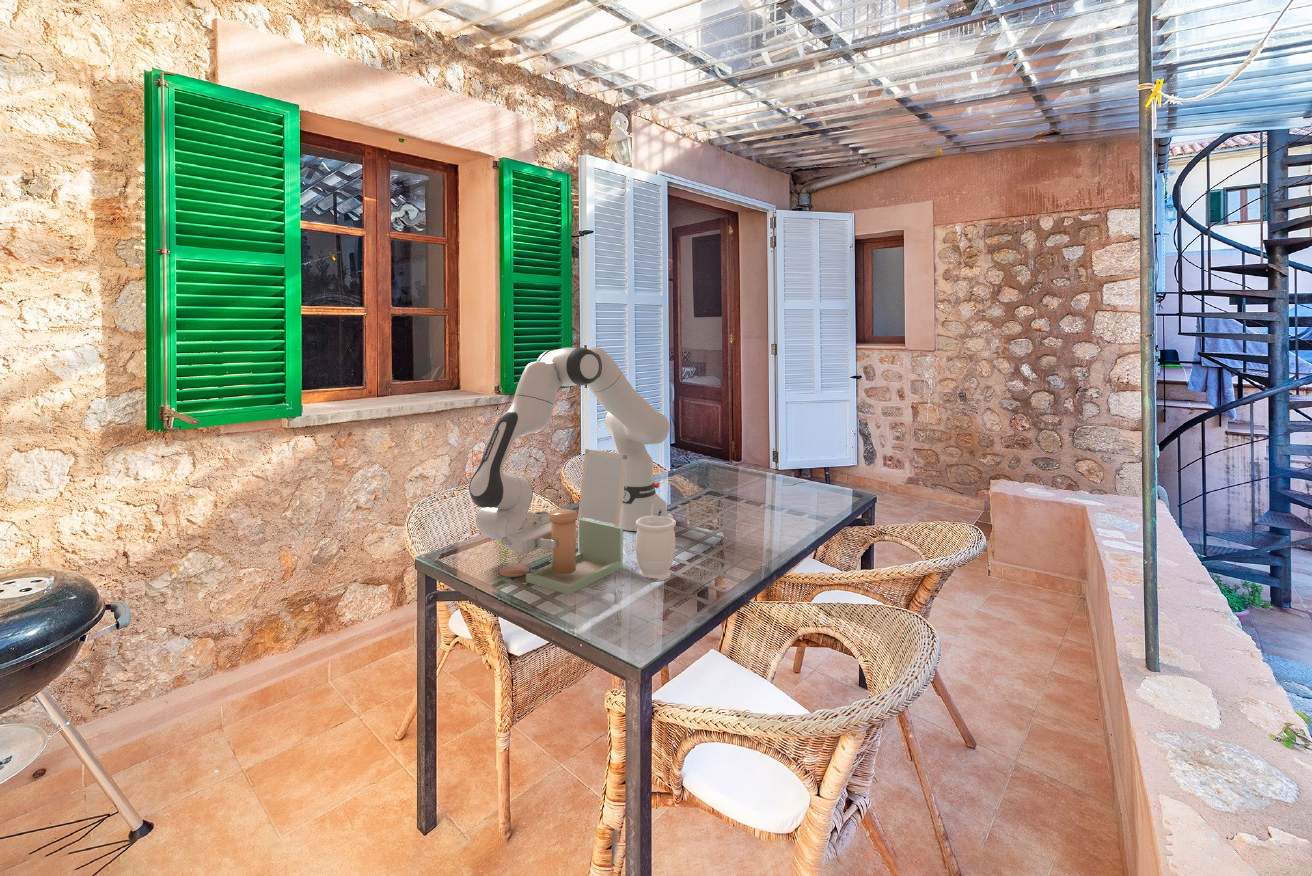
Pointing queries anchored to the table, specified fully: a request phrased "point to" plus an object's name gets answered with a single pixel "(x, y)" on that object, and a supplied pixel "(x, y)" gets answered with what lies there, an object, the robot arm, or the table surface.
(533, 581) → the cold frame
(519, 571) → the terracotta round disc
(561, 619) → the table surface
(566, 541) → the orange-brown capped cylinder
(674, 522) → the jar
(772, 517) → the table surface
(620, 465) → the lid
